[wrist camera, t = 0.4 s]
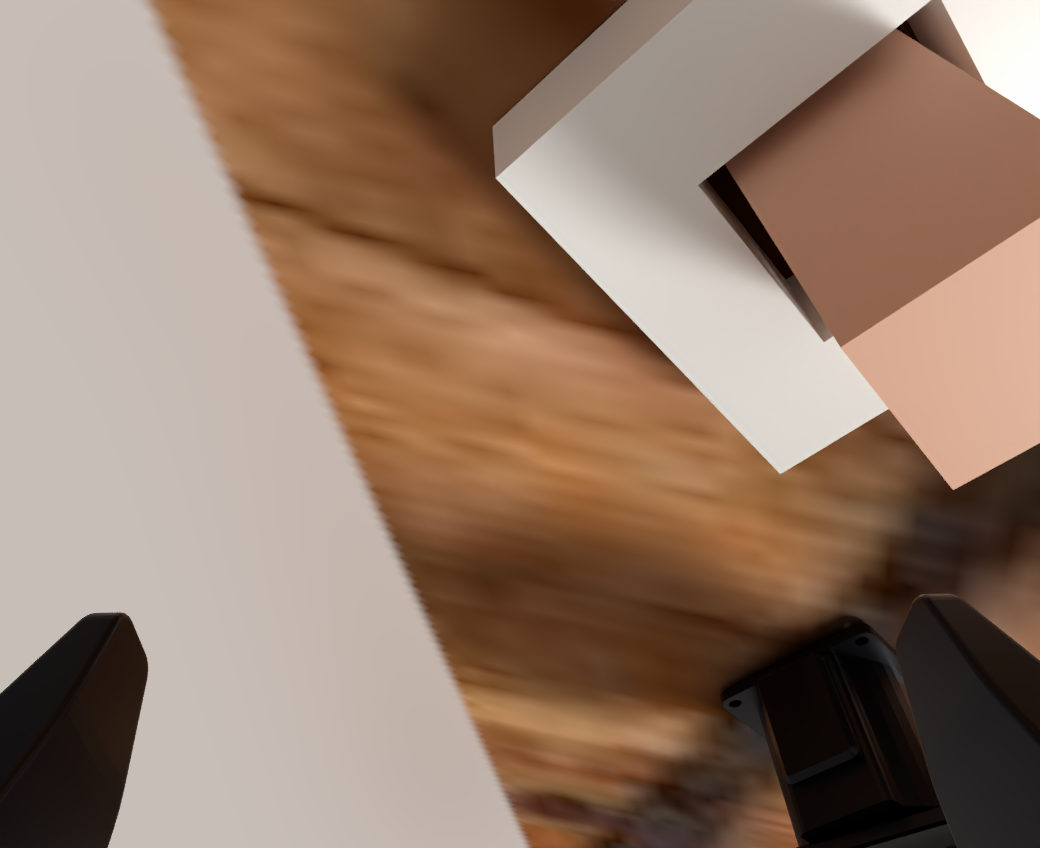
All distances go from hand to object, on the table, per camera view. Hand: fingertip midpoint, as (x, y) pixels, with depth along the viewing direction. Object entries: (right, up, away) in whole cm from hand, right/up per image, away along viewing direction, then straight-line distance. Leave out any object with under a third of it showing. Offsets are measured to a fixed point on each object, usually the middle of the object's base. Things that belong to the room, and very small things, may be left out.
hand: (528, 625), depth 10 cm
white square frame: (+7, +9, +10) cm, 15 cm away
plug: (+7, +9, +10) cm, 15 cm away
